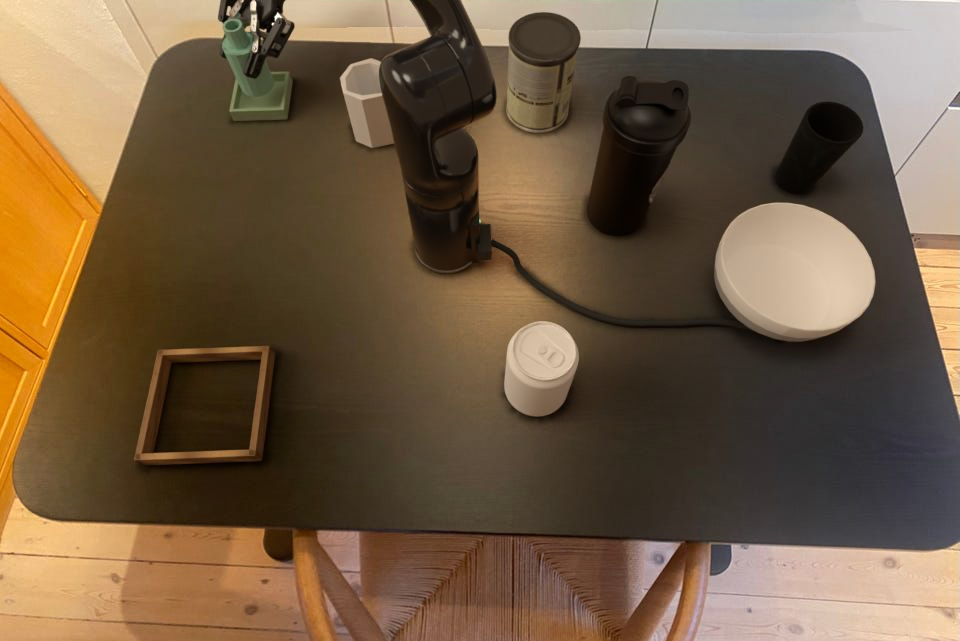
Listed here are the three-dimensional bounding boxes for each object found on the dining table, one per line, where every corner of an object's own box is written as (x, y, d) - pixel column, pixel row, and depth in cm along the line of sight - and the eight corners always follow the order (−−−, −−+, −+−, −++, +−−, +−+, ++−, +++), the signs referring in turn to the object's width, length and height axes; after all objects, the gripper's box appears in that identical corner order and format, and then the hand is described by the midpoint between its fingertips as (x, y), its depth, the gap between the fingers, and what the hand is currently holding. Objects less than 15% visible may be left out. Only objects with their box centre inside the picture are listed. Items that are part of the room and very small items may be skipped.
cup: (829, 191, 91) (875, 133, 80) (786, 206, 90) (828, 150, 79) (799, 154, 94) (840, 94, 84) (757, 168, 93) (793, 109, 82)
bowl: (842, 258, 86) (878, 222, 78) (834, 377, 78) (874, 349, 70) (708, 225, 88) (730, 187, 81) (688, 336, 80) (710, 306, 73)
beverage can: (529, 347, 80) (536, 304, 69) (579, 383, 78) (595, 345, 67) (491, 391, 77) (492, 354, 66) (541, 431, 75) (551, 398, 64)
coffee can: (506, 86, 101) (509, 10, 89) (567, 88, 101) (579, 12, 88) (504, 133, 97) (507, 59, 84) (569, 134, 96) (582, 61, 84)
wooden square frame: (275, 353, 80) (269, 345, 77) (262, 461, 73) (255, 455, 71) (167, 357, 79) (157, 349, 77) (144, 465, 73) (133, 460, 71)
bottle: (274, 94, 96) (250, 35, 86) (241, 99, 96) (213, 39, 86) (273, 71, 99) (250, 11, 89) (241, 75, 98) (214, 15, 88)
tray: (292, 81, 102) (289, 71, 100) (287, 119, 98) (283, 109, 96) (241, 82, 102) (236, 72, 100) (233, 121, 98) (228, 111, 96)
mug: (347, 146, 96) (334, 98, 87) (357, 106, 99) (345, 56, 91) (423, 151, 95) (417, 103, 86) (429, 111, 99) (424, 61, 90)
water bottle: (647, 246, 87) (698, 129, 66) (576, 234, 88) (605, 116, 67) (652, 191, 91) (702, 65, 71) (585, 180, 92) (614, 53, 72)
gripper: (222, -78, 84) (188, 39, 91) (287, -34, 80) (246, 86, 87) (264, -57, 91) (229, 51, 98) (327, -16, 87) (286, 94, 93)
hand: (237, 66), depth 92 cm, fingers closed on bottle, 5 cm apart
